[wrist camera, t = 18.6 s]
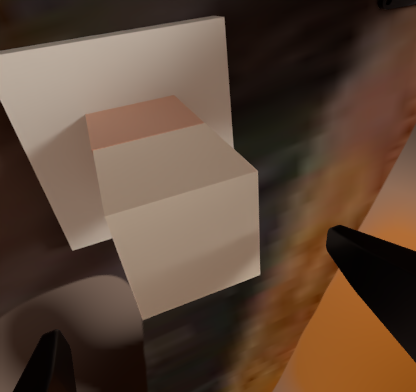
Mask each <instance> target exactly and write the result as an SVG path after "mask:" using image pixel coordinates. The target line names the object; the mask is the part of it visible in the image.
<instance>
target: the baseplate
mask: <svg viewBox="0 0 416 392" xmlns="http://www.w3.org/2000/svg"><path fill="white" fill-rule="evenodd" d="M172 95H174V96H176V97H177V98H178V99H179V100H180V101H181V102H182V103H183V104H184V105H185V106H187V107H188V108H189V109H190V110H191V111H192V112H193V113H194V114H195V115H196V116H197V117H199V118H200V119H201V120H202V121H203V122H204V123H206V124H207V125H208V126H209V127H210V128H211V129H212V130H213V131H214V132H216V133H217V134H218V135H219V136H220V137H221V138H222V139H223V140H224V141H225V142H227V143H228V144H229V145H230V146H231V147H232V148H233V149H234V146H233V132H232V118H231V104H230V89H229V75H228V61H227V47H226V33H225V19H224V17H220V16H209V17H203V18H197V19H191V20H185V21H179V22H172V23H166V24H160V25H154V26H148V27H142V28H136V29H130V30H124V31H118V32H112V33H106V34H100V35H94V36H88V37H82V38H76V39H69V40H63V41H57V42H51V43H45V44H39V45H33V46H27V47H21V48H15V49H9V50H3V51H0V101H1V103H2V105H3V107H4V109H5V111H6V113H7V115H8V117H9V119H10V121H11V123H12V126H13V128H14V130H15V132H16V134H17V136H18V138H19V140H20V142H21V144H22V146H23V149H24V151H25V153H26V155H27V157H28V159H29V161H30V163H31V165H32V167H33V169H34V171H35V174H36V176H37V178H38V180H39V182H40V184H41V186H42V188H43V190H44V192H45V194H46V197H47V199H48V201H49V203H50V205H51V207H52V209H53V211H54V213H55V215H56V217H57V219H58V222H59V224H60V226H61V228H62V230H63V232H64V234H65V236H66V238H67V240H68V242H69V244H70V247H71V249H72V251H73V250H77V249H80V248H83V247H86V246H89V245H92V244H95V243H99V242H102V241H105V240H108V239H111V238H112V235H111V233H110V230H109V227H108V225H107V222H106V219H105V216H104V211H103V205H102V200H101V194H100V189H99V183H98V177H97V172H96V166H95V161H94V156H93V153H92V150H91V145H90V139H89V133H88V128H87V122H86V116H85V114H90V113H94V112H99V111H103V110H108V109H113V108H117V107H122V106H126V105H131V104H136V103H140V102H145V101H149V100H154V99H158V98H163V97H168V96H172Z"/></svg>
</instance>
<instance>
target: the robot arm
mask: <svg viewBox="0 0 416 392" xmlns="http://www.w3.org/2000/svg"><path fill="white" fill-rule="evenodd" d="M414 4H416V0H387V2H386V0H378V6H379V8H380V9H392V8H398V7H403V6H408V5H414ZM326 248H327V251H328V253H329V254H330V256H331V257H332V259H333V260H334V262H335V263H336V265H337V266H338V267H339V269H340V270H341V272H342V273H343V275H344V276H345V278H346V279H347V281H348V282H349V283H350V285H351V286H352V287H353V289H354V290H355V291H356V292H357V294H358V295H359V296H360V297H361V298H362V300H363V301H364V302H365V303H366V304H367V306H368V307H369V308H370V309H371V310H372V311H373V313H374V314H375V315H376V316H377V317H378V318H379V320H380V321H381V322H382V323H383V324H384V326H385V327H386V328H387V329H388V330H389V331H390V333H391V334H392V335H393V336H394V337H395V339H396V340H397V341H398V342H399V343H400V345H401V346H402V347H403V348H404V349H405V350H406V351H407V353H408V354H409V355H410V356H411V358H412V359H413V360H414V361H415V362H416V251H413V250H411V249H408V248H405V247H402V246H399V245H396V244H393V243H391V242H388V241H385V240H382V239H379V238H376V237H373V236H371V235H368V234H365V233H362V232H359V231H356V230H354V229H351V228H348V227H345V226H342V225H337V226H334V227H332V228H330V229H329V230H328V234H327V241H326ZM13 392H76V384H75V377H74V369H73V362H72V354H71V349H70V346H69V344H68V342H67V341H66V339H65V338H64V336H63V335H62V333H61V331H60V330H58V329H56V330H53V331H50V332H47V333H45V334H43V335H42V337H41V338H40V340H39V343H38V344H37V346H36V348H35V350H34V352H33V354H32V356H31V358H30V360H29V361H28V364H27V365H26V368H25V369H24V371H23V373H22V375H21V377H20V379H19V381H18V383H17V385H16V387H15V389H14V391H13Z"/></svg>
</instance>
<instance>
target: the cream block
mask: <svg viewBox="0 0 416 392" xmlns="http://www.w3.org/2000/svg"><path fill="white" fill-rule="evenodd" d="M93 155H94V161H95V166H96V172H97V177H98V183H99V189H100V194H101V200H102V205H103V211H104V216H105V219H106V222H107V225H108V227H109V230H110V233H111V235H112V238H113V241H114V244H115V246H116V249H117V252H118V254H119V257H120V260H121V263H122V265H123V268H124V271H125V273H126V276H127V279H128V282H129V284H130V287H131V290H132V292H133V295H134V298H135V301H136V303H137V306H138V309H139V312H140V314H141V317H142V320H144V319H147V318H149V317H152V316H155V315H157V314H160V313H162V312H165V311H168V310H170V309H173V308H175V307H178V306H181V305H183V304H186V303H188V302H191V301H194V300H196V299H199V298H201V297H204V296H207V295H209V294H212V293H214V292H217V291H220V290H222V289H225V288H227V287H230V286H233V285H235V284H238V283H240V282H243V281H246V280H248V279H251V278H253V277H256V276H259V275H260V245H259V201H258V171H257V170H256V169H255V168H254V167H253V166H252V165H251V164H250V163H248V162H247V161H246V160H245V159H244V158H243V157H242V156H241V155H240V154H239V153H238V152H236V151H235V150H234V149H233V148H232V147H231V146H230V145H229V144H228V143H227V142H225V141H224V140H223V139H222V138H221V137H220V136H219V135H218V134H217V133H216V132H214V131H213V130H212V129H211V128H210V127H209V126H208V125H207V124H206V123H202V124H198V125H194V126H190V127H186V128H182V129H178V130H174V131H170V132H166V133H162V134H158V135H154V136H150V137H146V138H142V139H137V140H133V141H129V142H125V143H121V144H117V145H113V146H109V147H105V148H101V149H97V150H93Z"/></svg>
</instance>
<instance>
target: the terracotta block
mask: <svg viewBox="0 0 416 392" xmlns="http://www.w3.org/2000/svg"><path fill="white" fill-rule="evenodd" d="M85 116H86V122H87V128H88V133H89V139H90V145H91V150H92V153H93V150H97V149H101V148H105V147H109V146H113V145H117V144H121V143H125V142H129V141H133V140H137V139H142V138H146V137H150V136H154V135H158V134H162V133H166V132H170V131H174V130H178V129H182V128H186V127H190V126H194V125H198V124H202V123H204V122H203V121H202V120H201V119H200V118H199V117H197V116H196V115H195V114H194V113H193V112H192V111H191V110H190V109H189V108H188V107H187V106H185V105H184V104H183V103H182V102H181V101H180V100H179V99H178V98H177V97H176V96H174V95H172V96H168V97H163V98H158V99H154V100H149V101H145V102H140V103H136V104H131V105H126V106H122V107H117V108H113V109H108V110H103V111H99V112H94V113H90V114H85ZM93 156H94V155H93Z"/></svg>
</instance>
